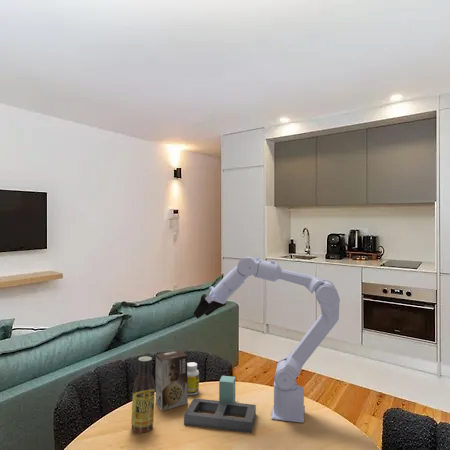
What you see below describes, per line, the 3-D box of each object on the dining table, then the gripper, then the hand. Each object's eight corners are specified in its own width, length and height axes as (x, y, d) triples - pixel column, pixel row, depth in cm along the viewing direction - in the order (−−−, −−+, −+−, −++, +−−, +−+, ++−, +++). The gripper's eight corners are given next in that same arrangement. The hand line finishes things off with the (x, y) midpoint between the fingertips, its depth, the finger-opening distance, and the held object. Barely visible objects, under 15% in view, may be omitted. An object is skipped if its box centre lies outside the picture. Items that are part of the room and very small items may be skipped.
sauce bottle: (134, 436, 95) (134, 364, 96) (129, 425, 101) (129, 356, 101) (157, 430, 98) (157, 360, 99) (151, 419, 104) (151, 353, 104)
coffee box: (180, 396, 119) (180, 348, 119) (188, 404, 113) (188, 354, 114) (154, 402, 114) (155, 353, 114) (161, 411, 109) (162, 360, 109)
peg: (235, 400, 116) (235, 376, 116) (232, 407, 111) (232, 382, 111) (222, 399, 117) (222, 375, 117) (219, 406, 112) (219, 381, 112)
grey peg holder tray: (255, 414, 107) (255, 404, 107) (251, 433, 97) (251, 422, 97) (193, 407, 111) (193, 398, 111) (183, 424, 101) (183, 414, 101)
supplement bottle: (198, 395, 119) (198, 367, 119) (182, 395, 119) (182, 367, 119) (199, 388, 124) (199, 361, 125) (184, 388, 125) (184, 361, 125)
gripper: (227, 276, 120) (201, 303, 122) (212, 277, 106) (183, 307, 108) (241, 291, 118) (214, 319, 120) (227, 294, 104) (197, 324, 106)
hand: (200, 314), depth 114 cm, fingers open, 7 cm apart
